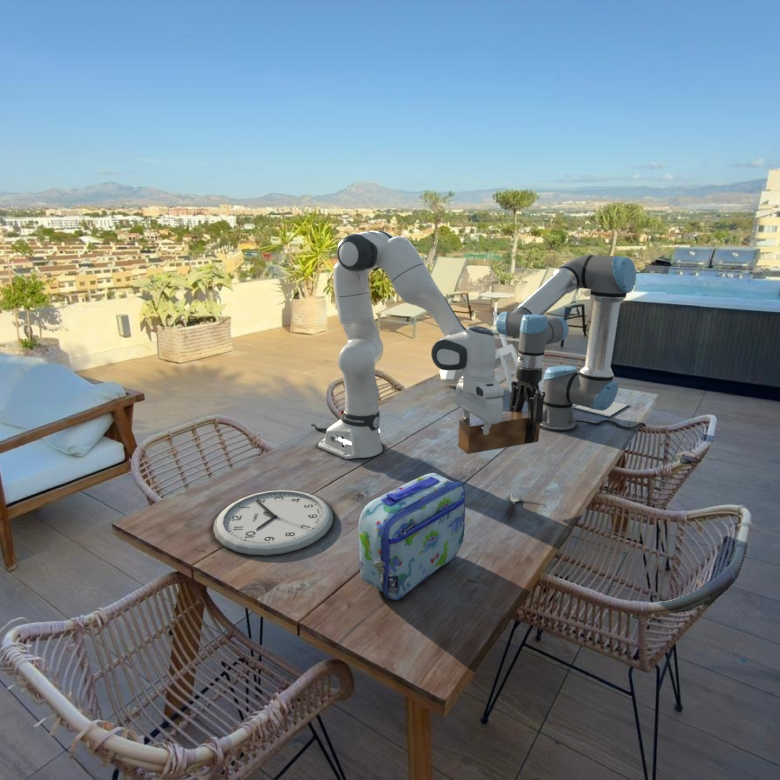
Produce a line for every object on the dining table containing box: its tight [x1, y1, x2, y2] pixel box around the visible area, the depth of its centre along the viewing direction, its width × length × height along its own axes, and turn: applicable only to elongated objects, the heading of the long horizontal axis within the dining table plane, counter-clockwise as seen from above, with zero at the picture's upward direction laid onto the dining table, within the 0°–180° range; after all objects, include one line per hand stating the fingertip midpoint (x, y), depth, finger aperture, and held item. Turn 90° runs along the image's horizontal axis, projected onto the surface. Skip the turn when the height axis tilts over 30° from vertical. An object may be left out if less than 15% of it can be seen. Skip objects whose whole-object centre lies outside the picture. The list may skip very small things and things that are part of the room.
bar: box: [457, 409, 541, 455], centre depth 158 cm, size 25×6×9 cm, turn 113°
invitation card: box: [573, 400, 629, 418], centre depth 226 cm, size 21×1×15 cm
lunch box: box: [358, 472, 466, 601], centre depth 112 cm, size 26×11×21 cm, turn 134°
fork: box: [508, 487, 522, 521], centre depth 143 cm, size 3×16×2 cm, turn 160°
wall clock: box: [212, 489, 334, 556], centre depth 134 cm, size 30×2×30 cm
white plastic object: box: [438, 310, 518, 393], centre depth 245 cm, size 37×45×31 cm
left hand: (476, 428), depth 154 cm, fingers open, 8 cm apart
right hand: (522, 438), depth 163 cm, fingers closed on bar, 6 cm apart
